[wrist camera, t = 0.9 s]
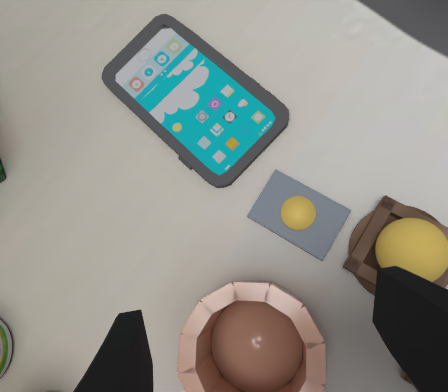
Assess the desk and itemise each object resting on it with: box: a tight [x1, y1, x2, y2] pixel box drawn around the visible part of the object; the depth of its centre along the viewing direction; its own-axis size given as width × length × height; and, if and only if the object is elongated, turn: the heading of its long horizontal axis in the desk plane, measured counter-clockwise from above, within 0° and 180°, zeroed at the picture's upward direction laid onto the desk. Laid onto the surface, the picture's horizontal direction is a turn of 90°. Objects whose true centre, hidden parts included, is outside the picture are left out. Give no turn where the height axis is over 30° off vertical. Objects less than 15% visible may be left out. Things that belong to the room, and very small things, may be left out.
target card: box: [247, 169, 351, 260], centre depth 26 cm, size 6×4×1 cm, turn 58°
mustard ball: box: [375, 218, 448, 282], centre depth 22 cm, size 4×4×4 cm
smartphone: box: [102, 14, 289, 188], centre depth 29 cm, size 9×1×15 cm
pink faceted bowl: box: [177, 281, 326, 392], centre depth 22 cm, size 8×8×5 cm
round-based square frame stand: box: [343, 195, 448, 295], centre depth 24 cm, size 6×6×1 cm
